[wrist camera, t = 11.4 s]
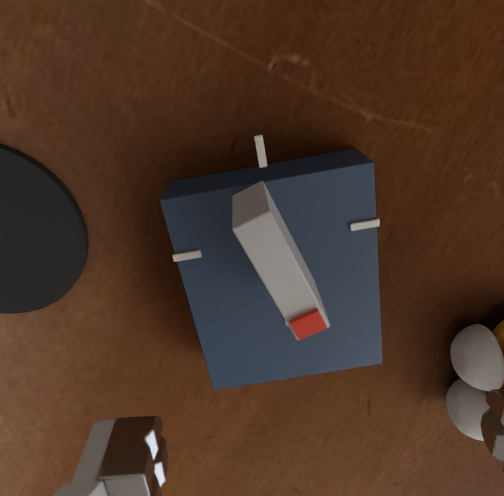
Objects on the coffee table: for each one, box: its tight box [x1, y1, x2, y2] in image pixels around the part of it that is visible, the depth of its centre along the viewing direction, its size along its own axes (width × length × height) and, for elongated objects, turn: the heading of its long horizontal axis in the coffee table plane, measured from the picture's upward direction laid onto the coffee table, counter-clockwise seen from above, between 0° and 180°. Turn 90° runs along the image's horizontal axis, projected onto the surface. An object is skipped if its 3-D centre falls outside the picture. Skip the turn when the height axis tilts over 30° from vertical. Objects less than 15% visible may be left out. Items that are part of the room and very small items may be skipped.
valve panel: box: [160, 135, 382, 390], centre depth 22 cm, size 14×10×3 cm
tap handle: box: [232, 181, 330, 340], centre depth 18 cm, size 6×2×4 cm, turn 27°
